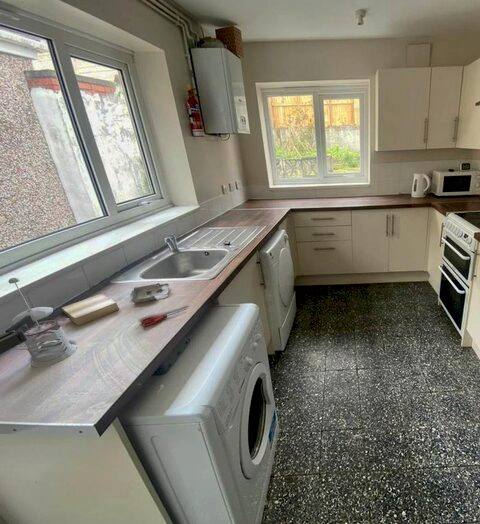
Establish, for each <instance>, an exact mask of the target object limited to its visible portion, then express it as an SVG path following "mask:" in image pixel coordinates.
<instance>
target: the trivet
mask: <svg viewBox="0 0 480 524" xmlns="http://www.w3.org/2000/svg"><path fill="white" fill-rule="evenodd" d="M61 310H62V312H63V313H64V315H67V318H68V319H69V320H70V321H71V322H73V323H74V324H75V325H77V326H81V325H84V324H86V323H89V322H92V321H94V320H96V319H98V318H101V317H103V316H106V315H109V314H111V313H114V312H115V311H118V310H120V308H119V305H118V303H117V301H114V300H113V299H111V298H110V297H107V295H104V294H103V293H99V294H97V295H94V296H91V297H88V298H85V299H83V300H79V301H77V302H74V303H71V304H69V305H68V304H67V305H65V306H62V307H61Z"/></svg>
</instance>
